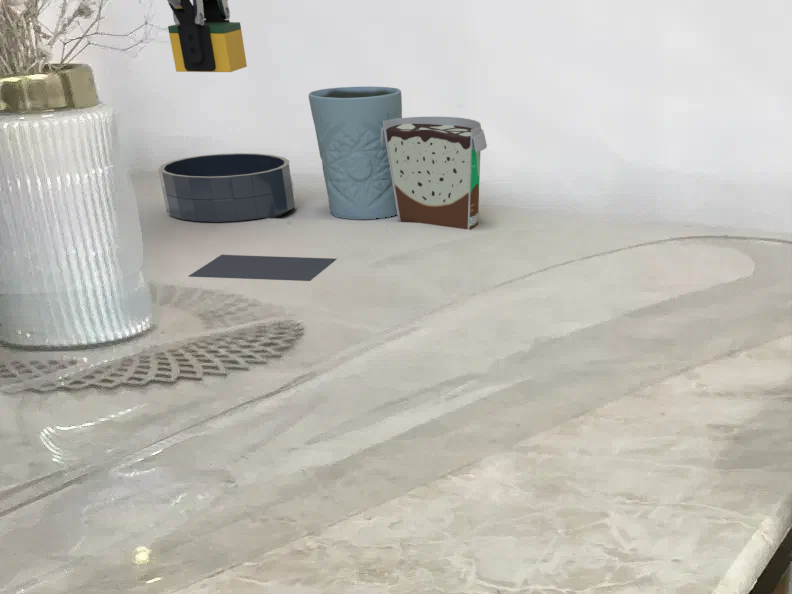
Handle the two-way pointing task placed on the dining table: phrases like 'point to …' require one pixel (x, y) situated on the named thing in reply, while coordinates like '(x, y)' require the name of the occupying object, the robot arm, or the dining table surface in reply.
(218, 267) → the mat
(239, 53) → the sponge
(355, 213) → the blue embossed cup
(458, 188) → the food container
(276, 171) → the bowl
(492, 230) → the dining table surface
